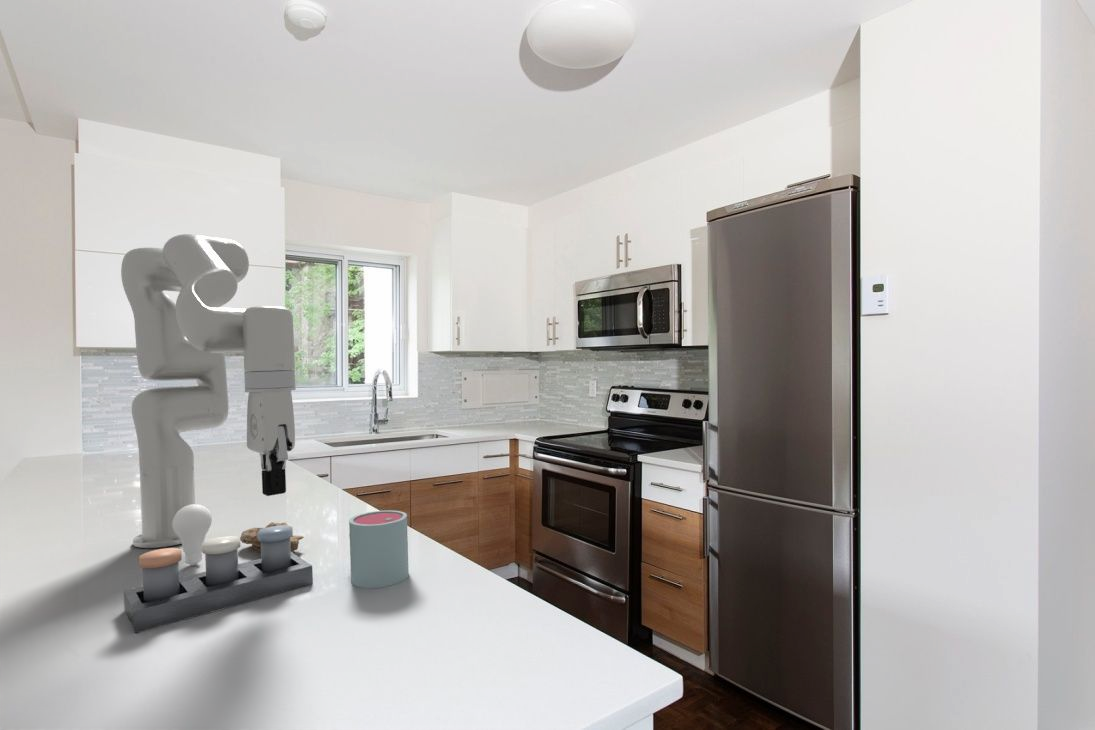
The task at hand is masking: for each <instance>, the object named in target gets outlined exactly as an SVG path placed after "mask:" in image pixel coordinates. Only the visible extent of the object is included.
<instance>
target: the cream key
mask: <svg viewBox="0 0 1095 730" xmlns="http://www.w3.org/2000/svg"><path fill="white" fill-rule="evenodd" d="M240 537H241V536H237V535H226V536H218V537H213V538H210V539H207V540H204V542H203V543H202V554H203V555H204V557H205V558H204V559H205V560H204V561H205V572H206V584H207V585H208V586H215V585H219V584H223V583H227V582H231V581H235V580H238V578H239V576H238V564H239V553H238V552H239V550H238V549H239V548H241V541H240Z"/></svg>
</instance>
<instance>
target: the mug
mask: <svg viewBox="0 0 1095 730" xmlns="http://www.w3.org/2000/svg"><path fill="white" fill-rule="evenodd" d="M348 524H349V525H348V526H349V528H348V529H349V535H348V536H349V552H350V556H349V558H350V561H349V562H350V582H351V584H352V586H355V587H357V588H362V589H378V588H384V587H390V586H393V585H397V584H399V583H401V582H403V581H406V579H407V578H408V577H409V546H408V545H409V544H408V543H409V541H408V540H409V539H408V538H409V537H408V514H407V513H406V512H405V511H400V510H394V509H393V510H392V509H391V510H388V509H387V510H385V509H384V510H375V511H368V512H364V513H360V514H357V515H354V516H352V517H350V518H349V522H348Z"/></svg>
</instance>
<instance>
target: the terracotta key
mask: <svg viewBox="0 0 1095 730" xmlns="http://www.w3.org/2000/svg"><path fill="white" fill-rule="evenodd" d="M182 554H183V553H182V549H181V548H177V547H164V548H159V549H158V548H157V549H154V550H150V551H147V552H144V553H143V554H141V555H139V556H138V566H139V568H142V585H143V590H144V601H146V602H151V601H155V600H159V599H163V598H167V597H171V596H175V595H178V594H179V593H180V587H179V578H180V566H179V562H180V561H181V560H182Z"/></svg>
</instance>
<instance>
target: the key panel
mask: <svg viewBox="0 0 1095 730" xmlns="http://www.w3.org/2000/svg"><path fill="white" fill-rule="evenodd" d="M313 572H314V571H313V565H312V564H311V563H309V562H308V561H306V560H305V559H303V558H301V557H300V556H298V555H297V554H296V553H294V552H293V553H292V552H291V566H290V567H287V568H283V569H279V570H275V571H271V572H263V571H262V564H261V558H258V559H254V560H250V561H245V562H240V563H238V576H239V578H238V580H235V581H231V582H227V583H223V584H219V585H215V586H208V585H207V584H206V571H202V572H199V573H194V574H190V575H185V576H182V577H181V576H179V587H180V593H179V594H178V595H175V596H171V597H167V598H163V599H159V600H155V601H151V602H146V601H144V590H143V586H138V587H134V588H129V589H125V590H123V604H124V607H123V608H124V610H123V611H124V613H125V614H126V617H127V619H128V621H129V623H130V625H131V628H132V630H133V632H134V634H137V633H141V632H144V631H147V630H151V629H156V628H158V627H162V626H166V625H169V624H172V623H176V622H180V621H184V620H188V619H192V618H194V617H198V616H202V615H205V614H208V613H214V612H216V611H220V610H224V609H227V608H230V607H234V606H238V605H241V604H245V603H249V602H253V601H256V600H260V599H263V598H266V597H267V598H268V597H270V596H275V595H278V594H282V593H284V592H285V593H286V592H289V591H293V590H297V589H299V588H300V589H301V588H303V587H307V586H310V585H313V584H314V580H313V579H314V578H313V577H314V576H313V575H314V574H313Z"/></svg>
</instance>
